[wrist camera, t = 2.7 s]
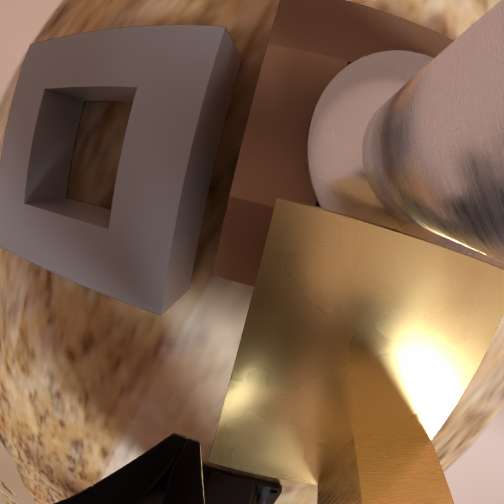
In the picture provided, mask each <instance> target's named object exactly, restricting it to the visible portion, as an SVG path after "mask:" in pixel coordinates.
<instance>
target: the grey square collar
mask: <svg viewBox="0 0 504 504" xmlns="http://www.w3.org/2000/svg"><path fill="white" fill-rule="evenodd" d="M241 61H242V58H241V56H240V54H239V52H238V50H237V48H236V46H235V44H234V42H233V40H232V38H231V36H230V34H229V32H228V30H227V28H226V27H224V26H207V25H153V26H136V27H124V28H114V29H106V30H98V31H92V32H85V33H79V34H74V35H69V36H64V37H59V38H54V39H50V40H46V41H42V42H38V43H34V44H30V47H29V49H28V52H27V55H26V58H25V60H24V63H23V66H22V69H21V73H20V76H19V79H18V82H17V86H16V89H15V93H14V97H13V100H12V104H11V108H10V113H9V117H8V122H7V126H6V132H5V137H4V142H3V148H2V155H1V162H0V247H1V248H3V249H5V250H7V251H9V252H11V253H13V254H15V255H17V256H19V257H21V258H23V259H25V260H27V261H29V262H31V263H33V264H35V265H37V266H40V267H42V268H44V269H46V270H48V271H50V272H53V273H55V274H57V275H59V276H62V277H64V278H66V279H68V280H71V281H73V282H75V283H78V284H80V285H82V286H85V287H87V288H90V289H92V290H94V291H97V292H99V293H102V294H104V295H107V296H109V297H112V298H115V299H117V300H120V301H122V302H125V303H128V304H130V305H133V306H136V307H138V308H141V309H144V310H147V311H149V312H152V313H155V314H158V315H161V316H162V315H163V314H164V313H165V312H166V311H167V310H168V309H169V308H170V307H171V306H172V305H173V304H174V303H175V302H176V301H177V300H178V299H179V298H180V297H181V296H182V295H183V294H184V293H185V292H186V291H187V290H188V289H190V283H191V277H192V272H193V266H194V261H195V256H196V251H197V245H198V240H199V235H200V230H201V225H202V221H203V216H204V211H205V206H206V202H207V197H208V192H209V188H210V183H211V179H212V174H213V170H214V166H215V161H216V157H217V153H218V149H219V145H220V140H221V136H222V132H223V128H224V124H225V120H226V117H227V113H228V109H229V105H230V101H231V97H232V94H233V90H234V86H235V83H236V79H237V75H238V72H239V68H240V65H241ZM85 101H118V102H133V104H132V108H131V112H130V116H129V120H128V124H127V128H126V132H125V137H124V141H123V146H122V150H121V155H120V160H119V165H118V171H117V176H116V182H115V188H114V194H113V200H112V207H111V210H110V209H107V208H103V207H99V206H95V205H91V204H87V203H83V202H79V201H76V200H72V199H68V198H66V195H67V187H68V180H69V174H70V167H71V162H72V156H73V150H74V145H75V140H76V136H77V131H78V126H79V122H80V118H81V114H82V110H83V106H84V102H85Z"/></svg>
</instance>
